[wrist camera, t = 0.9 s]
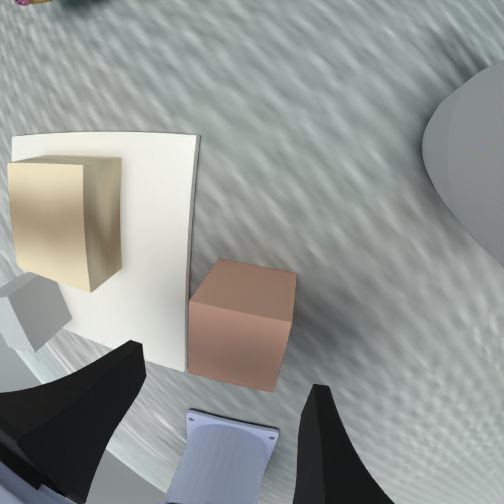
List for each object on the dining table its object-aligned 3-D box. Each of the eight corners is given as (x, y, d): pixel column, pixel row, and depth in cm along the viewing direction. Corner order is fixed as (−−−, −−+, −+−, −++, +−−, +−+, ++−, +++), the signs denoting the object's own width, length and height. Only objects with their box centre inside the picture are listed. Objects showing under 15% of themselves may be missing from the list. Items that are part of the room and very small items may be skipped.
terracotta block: (282, 335, 19) (273, 392, 14) (214, 321, 19) (188, 372, 15) (297, 272, 17) (292, 322, 12) (219, 257, 18) (188, 300, 13)
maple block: (122, 268, 18) (90, 293, 15) (49, 248, 19) (18, 266, 16) (121, 157, 16) (83, 165, 12) (44, 155, 16) (7, 162, 13)
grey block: (72, 318, 21) (35, 352, 16) (43, 318, 22) (9, 347, 18) (51, 267, 20) (7, 296, 15) (23, 273, 21) (-16, 298, 16)
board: (187, 367, 21) (184, 372, 21) (36, 310, 23) (32, 313, 22) (200, 135, 15) (196, 135, 15) (17, 135, 17) (12, 136, 16)
